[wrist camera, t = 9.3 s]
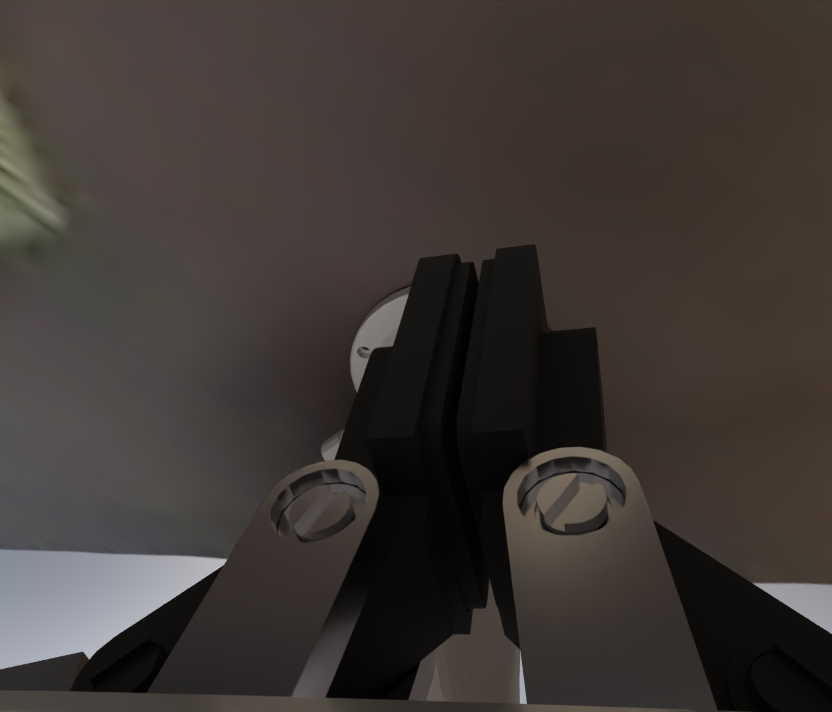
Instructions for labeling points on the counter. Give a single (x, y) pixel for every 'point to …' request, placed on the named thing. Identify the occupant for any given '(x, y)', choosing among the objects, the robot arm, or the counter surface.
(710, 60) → the counter surface
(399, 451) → the robot arm
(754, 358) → the counter surface
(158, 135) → the counter surface
